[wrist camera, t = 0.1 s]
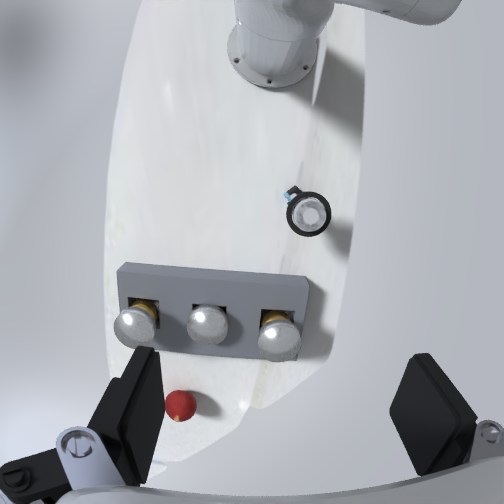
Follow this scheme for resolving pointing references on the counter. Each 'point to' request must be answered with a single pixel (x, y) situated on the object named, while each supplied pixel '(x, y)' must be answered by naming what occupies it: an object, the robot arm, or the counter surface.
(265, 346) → the knob
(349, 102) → the counter surface
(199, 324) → the knob middle
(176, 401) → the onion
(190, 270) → the knob panel
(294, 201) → the push button
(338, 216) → the counter surface
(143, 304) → the knob
